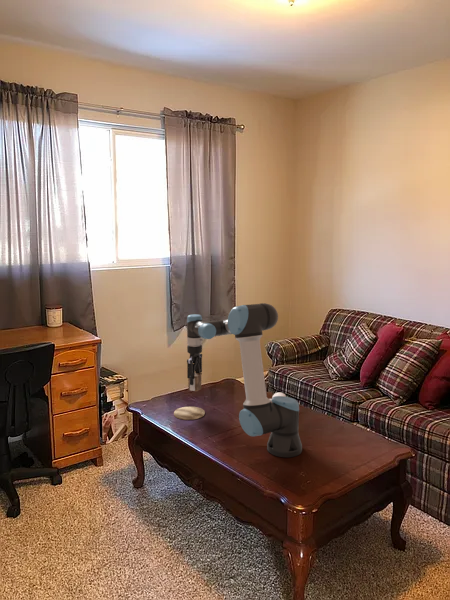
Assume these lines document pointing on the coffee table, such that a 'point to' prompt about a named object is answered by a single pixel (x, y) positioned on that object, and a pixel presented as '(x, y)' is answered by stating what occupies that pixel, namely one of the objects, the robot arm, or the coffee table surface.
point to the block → (196, 382)
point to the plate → (189, 413)
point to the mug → (278, 395)
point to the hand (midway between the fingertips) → (194, 388)
